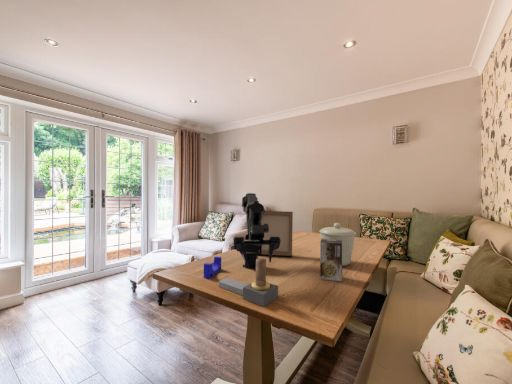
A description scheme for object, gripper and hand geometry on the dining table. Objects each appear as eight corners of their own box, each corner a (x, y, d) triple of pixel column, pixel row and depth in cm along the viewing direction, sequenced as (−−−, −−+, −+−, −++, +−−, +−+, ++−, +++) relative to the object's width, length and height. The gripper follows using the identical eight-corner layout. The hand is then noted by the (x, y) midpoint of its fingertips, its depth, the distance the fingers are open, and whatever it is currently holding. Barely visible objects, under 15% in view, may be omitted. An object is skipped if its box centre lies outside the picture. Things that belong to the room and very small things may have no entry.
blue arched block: (212, 268, 115) (212, 256, 115) (221, 269, 114) (221, 257, 114) (200, 277, 103) (200, 263, 103) (210, 278, 102) (210, 264, 102)
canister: (320, 267, 118) (320, 224, 117) (317, 257, 136) (318, 219, 135) (359, 270, 115) (360, 226, 114) (351, 259, 132) (352, 220, 132)
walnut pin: (262, 291, 89) (263, 256, 89) (273, 297, 84) (273, 260, 84) (248, 295, 86) (248, 258, 85) (257, 302, 80) (258, 263, 80)
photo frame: (291, 257, 134) (292, 212, 134) (253, 255, 137) (253, 211, 137) (292, 251, 148) (292, 210, 148) (257, 249, 152) (257, 209, 152)
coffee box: (341, 276, 106) (342, 240, 106) (342, 282, 100) (342, 243, 100) (320, 274, 109) (321, 238, 109) (319, 279, 103) (320, 241, 103)
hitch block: (230, 281, 99) (231, 271, 99) (277, 297, 86) (278, 285, 85) (215, 288, 92) (215, 277, 92) (263, 306, 79) (263, 294, 78)
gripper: (233, 216, 96) (234, 252, 85) (280, 216, 98) (286, 251, 87) (233, 232, 104) (233, 266, 93) (275, 232, 106) (281, 265, 95)
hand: (258, 262), depth 92 cm, fingers open, 9 cm apart
